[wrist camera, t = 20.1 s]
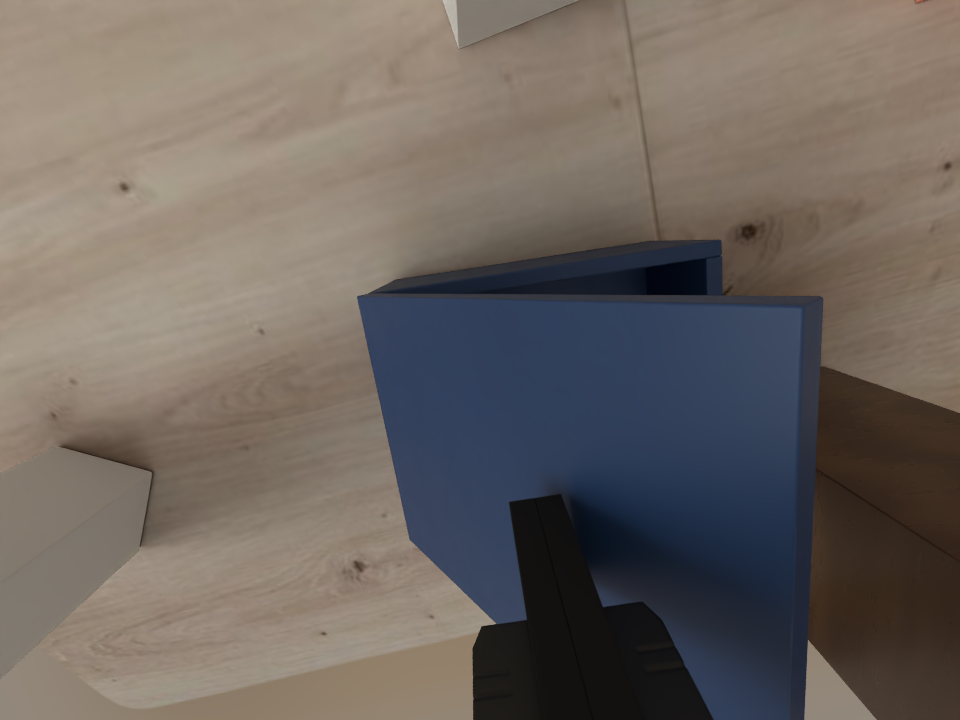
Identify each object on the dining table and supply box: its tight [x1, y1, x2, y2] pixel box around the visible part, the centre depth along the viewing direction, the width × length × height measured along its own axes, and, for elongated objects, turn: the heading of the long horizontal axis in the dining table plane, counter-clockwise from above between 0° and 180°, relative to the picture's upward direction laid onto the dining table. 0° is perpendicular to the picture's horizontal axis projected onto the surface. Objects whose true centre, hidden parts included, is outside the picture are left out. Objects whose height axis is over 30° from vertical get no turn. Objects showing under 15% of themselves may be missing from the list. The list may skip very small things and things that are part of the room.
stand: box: [808, 366, 960, 720], centre depth 21 cm, size 10×10×28 cm
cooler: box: [368, 240, 723, 296], centre depth 28 cm, size 18×14×9 cm
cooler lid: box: [357, 293, 823, 720], centre depth 16 cm, size 18×14×1 cm
